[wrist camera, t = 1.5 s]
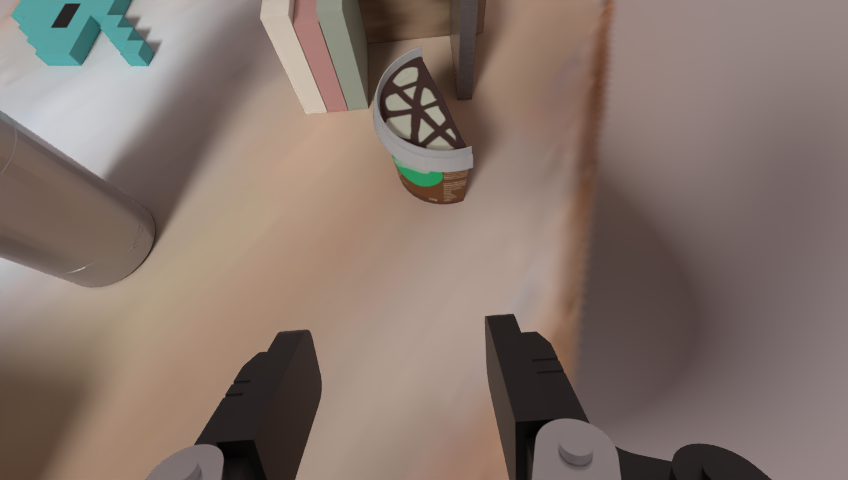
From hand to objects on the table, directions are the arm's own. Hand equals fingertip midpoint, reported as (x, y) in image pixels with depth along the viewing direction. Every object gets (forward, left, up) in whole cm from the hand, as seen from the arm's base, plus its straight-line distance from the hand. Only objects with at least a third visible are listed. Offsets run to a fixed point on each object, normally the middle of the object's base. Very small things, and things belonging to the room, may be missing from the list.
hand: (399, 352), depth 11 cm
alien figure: (-41, +51, -25) cm, 70 cm away
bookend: (+6, +35, -24) cm, 43 cm away
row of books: (-8, +35, -24) cm, 43 cm away
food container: (0, +21, -24) cm, 32 cm away
